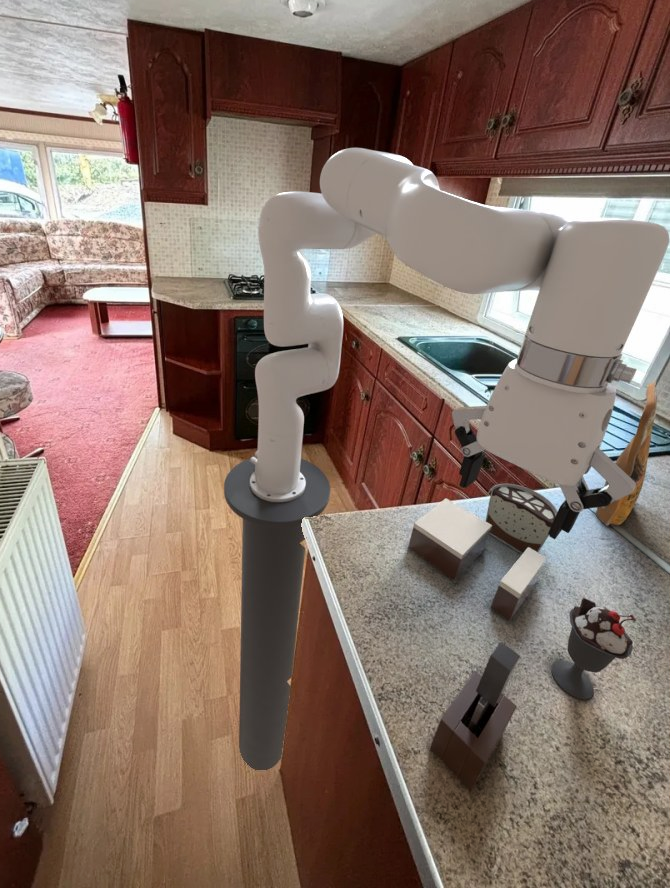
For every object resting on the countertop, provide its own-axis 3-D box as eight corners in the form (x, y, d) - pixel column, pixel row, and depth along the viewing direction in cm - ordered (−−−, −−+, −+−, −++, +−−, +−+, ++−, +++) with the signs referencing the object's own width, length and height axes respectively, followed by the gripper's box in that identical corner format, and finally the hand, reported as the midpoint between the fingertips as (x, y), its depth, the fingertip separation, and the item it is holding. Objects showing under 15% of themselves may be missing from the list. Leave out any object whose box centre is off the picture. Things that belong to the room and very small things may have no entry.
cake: (408, 547, 74) (414, 522, 72) (439, 521, 81) (445, 498, 79) (454, 581, 68) (462, 555, 66) (483, 549, 75) (492, 525, 73)
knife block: (429, 748, 47) (440, 718, 44) (463, 699, 52) (474, 670, 49) (470, 792, 43) (485, 763, 41) (502, 735, 48) (517, 705, 46)
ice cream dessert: (554, 550, 76) (573, 508, 72) (541, 566, 72) (560, 523, 68) (491, 513, 84) (504, 474, 80) (476, 525, 81) (489, 485, 77)
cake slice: (490, 607, 64) (500, 580, 62) (517, 571, 71) (528, 546, 68) (509, 621, 62) (520, 594, 60) (535, 583, 69) (547, 557, 66)
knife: (450, 747, 47) (486, 660, 40) (467, 721, 49) (503, 636, 43) (467, 764, 45) (507, 677, 39) (483, 736, 48) (523, 650, 41)
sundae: (605, 718, 51) (657, 640, 44) (544, 688, 53) (585, 611, 47) (598, 671, 56) (644, 596, 50) (543, 645, 59) (580, 571, 53)
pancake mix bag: (579, 517, 85) (634, 398, 74) (603, 483, 97) (653, 376, 86) (618, 536, 81) (682, 412, 69) (637, 497, 93) (695, 387, 81)
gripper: (690, 386, 34) (609, 537, 41) (490, 331, 46) (454, 457, 53) (675, 409, 29) (587, 575, 37) (457, 341, 41) (422, 478, 48)
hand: (508, 505), depth 45 cm, fingers open, 9 cm apart
